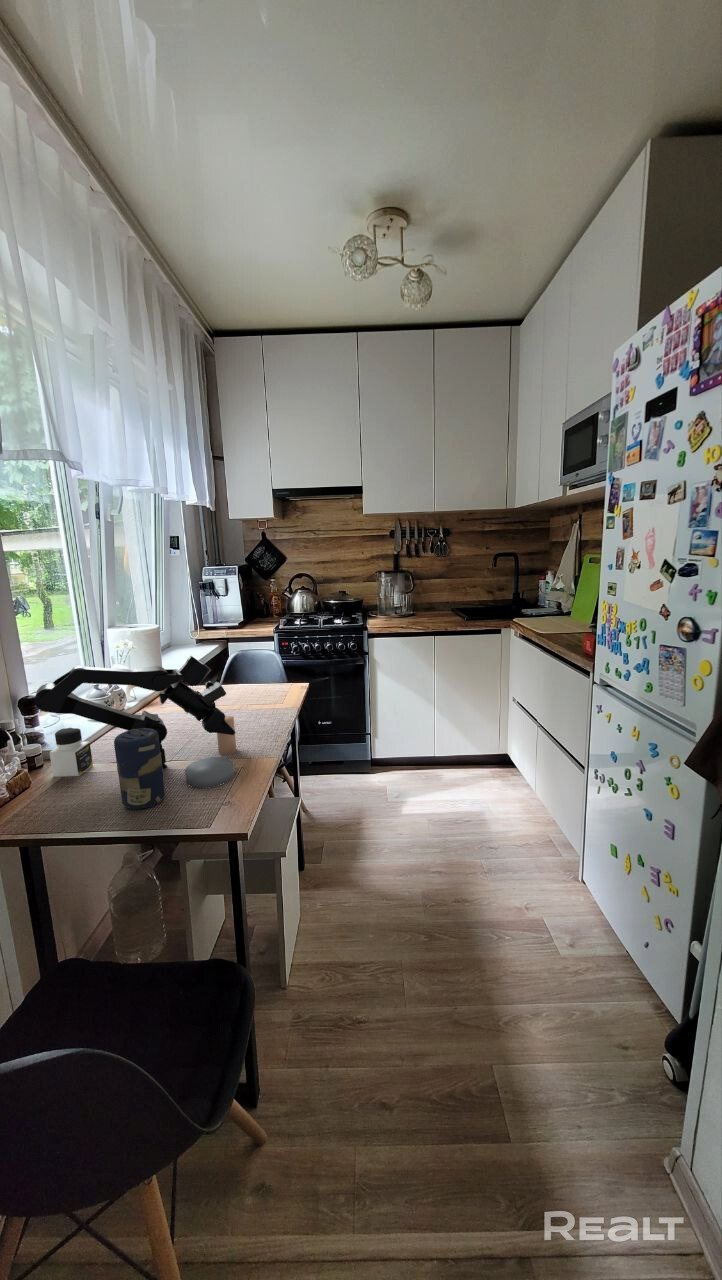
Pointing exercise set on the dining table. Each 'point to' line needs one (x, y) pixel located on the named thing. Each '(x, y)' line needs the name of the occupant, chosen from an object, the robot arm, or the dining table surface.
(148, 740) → the canister
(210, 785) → the pedestal
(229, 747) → the tan piece
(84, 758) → the medicine bottle
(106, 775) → the dining table surface
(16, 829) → the dining table surface
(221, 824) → the dining table surface
